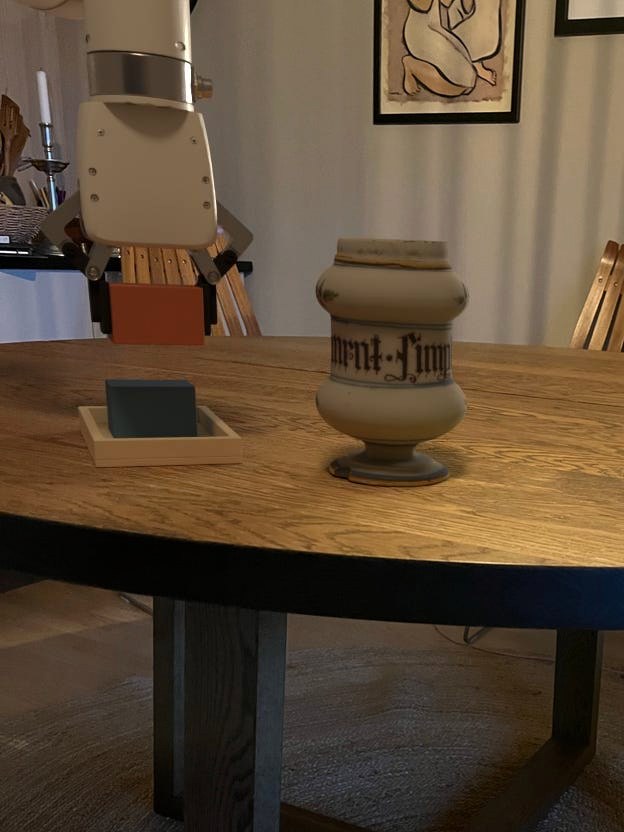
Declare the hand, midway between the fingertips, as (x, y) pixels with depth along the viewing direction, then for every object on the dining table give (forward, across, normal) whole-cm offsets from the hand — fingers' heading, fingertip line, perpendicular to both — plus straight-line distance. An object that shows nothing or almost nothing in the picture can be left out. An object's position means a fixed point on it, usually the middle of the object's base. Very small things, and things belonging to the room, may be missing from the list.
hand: (155, 331), depth 84 cm
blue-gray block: (+9, 0, -5) cm, 10 cm away
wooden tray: (+10, 0, -3) cm, 10 cm away
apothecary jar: (+10, -16, +11) cm, 22 cm away
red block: (+1, 0, 0) cm, 1 cm away
